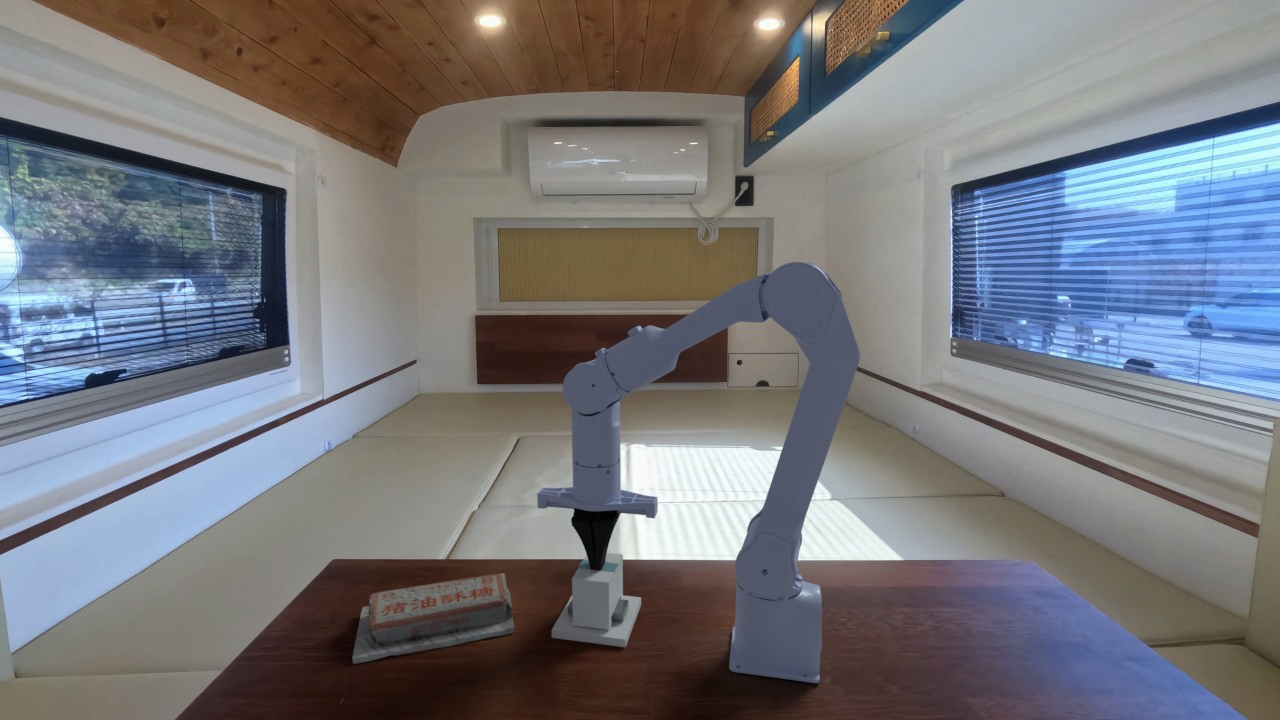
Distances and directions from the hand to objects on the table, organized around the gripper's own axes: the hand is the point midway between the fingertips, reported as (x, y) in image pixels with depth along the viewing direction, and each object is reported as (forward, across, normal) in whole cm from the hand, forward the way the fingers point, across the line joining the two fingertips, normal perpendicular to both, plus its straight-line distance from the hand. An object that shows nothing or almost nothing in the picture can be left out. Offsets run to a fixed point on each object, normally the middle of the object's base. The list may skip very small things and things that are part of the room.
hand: (597, 566), depth 73 cm
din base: (+7, 0, 0) cm, 7 cm away
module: (+6, 0, 0) cm, 6 cm away
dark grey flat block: (+6, 0, 0) cm, 6 cm away
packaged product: (+8, +19, +5) cm, 21 cm away
